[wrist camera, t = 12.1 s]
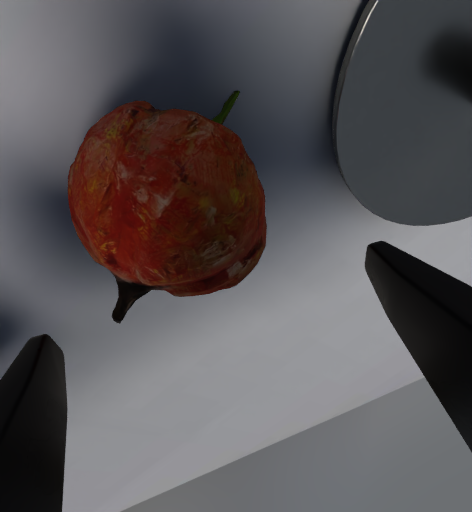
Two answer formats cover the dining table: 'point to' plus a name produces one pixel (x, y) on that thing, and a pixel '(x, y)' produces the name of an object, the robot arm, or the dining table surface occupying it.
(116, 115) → the red apple
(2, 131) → the dining table surface
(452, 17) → the lid
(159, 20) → the dining table surface
